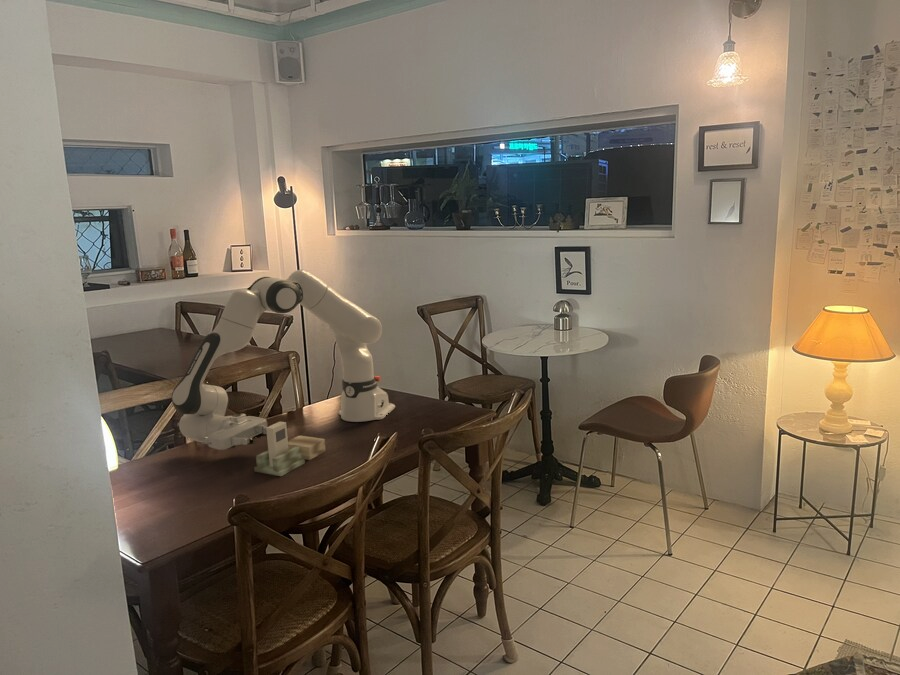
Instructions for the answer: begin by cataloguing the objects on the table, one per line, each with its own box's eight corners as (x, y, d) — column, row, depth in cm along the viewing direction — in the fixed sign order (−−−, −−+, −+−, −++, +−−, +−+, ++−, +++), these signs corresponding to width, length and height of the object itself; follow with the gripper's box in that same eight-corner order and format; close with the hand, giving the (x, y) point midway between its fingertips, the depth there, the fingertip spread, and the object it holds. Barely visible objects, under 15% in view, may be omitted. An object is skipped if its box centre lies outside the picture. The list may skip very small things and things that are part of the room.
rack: (278, 458, 210) (277, 443, 209) (304, 462, 206) (303, 447, 205) (254, 471, 201) (252, 455, 200) (281, 476, 196) (279, 460, 195)
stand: (300, 447, 220) (299, 435, 219) (325, 451, 215) (324, 439, 214) (284, 455, 213) (283, 443, 212) (310, 459, 208) (309, 447, 207)
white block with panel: (283, 459, 206) (279, 421, 204) (289, 460, 205) (286, 422, 203) (269, 466, 201) (266, 427, 199) (276, 467, 200) (273, 428, 198)
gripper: (197, 431, 201) (232, 437, 195) (245, 411, 219) (279, 416, 213) (199, 451, 202) (235, 458, 196) (247, 430, 220) (281, 435, 214)
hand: (258, 436), depth 205 cm, fingers open, 8 cm apart
